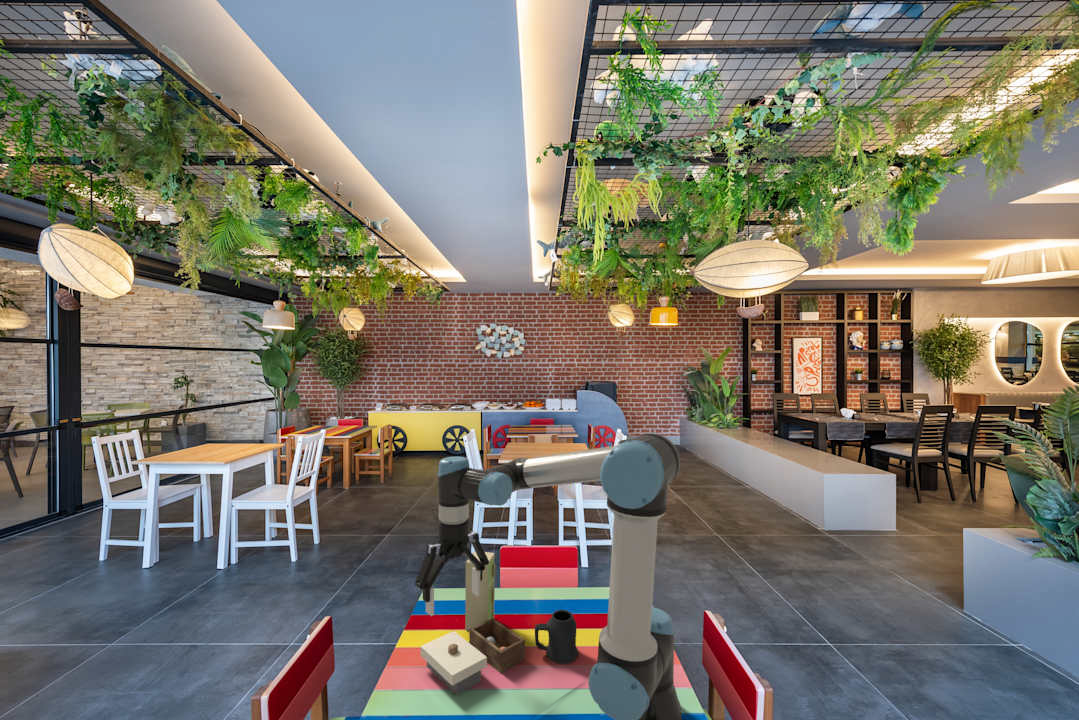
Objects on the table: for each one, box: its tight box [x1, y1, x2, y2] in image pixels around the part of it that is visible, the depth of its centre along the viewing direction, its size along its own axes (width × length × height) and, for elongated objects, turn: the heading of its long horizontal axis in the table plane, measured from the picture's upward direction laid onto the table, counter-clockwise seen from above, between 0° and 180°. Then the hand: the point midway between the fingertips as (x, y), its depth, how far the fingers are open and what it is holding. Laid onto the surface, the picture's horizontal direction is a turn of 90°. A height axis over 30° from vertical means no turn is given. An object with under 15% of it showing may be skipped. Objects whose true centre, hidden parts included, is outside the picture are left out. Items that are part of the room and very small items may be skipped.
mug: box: [534, 609, 579, 665], centre depth 128 cm, size 12×9×11 cm
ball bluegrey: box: [486, 637, 495, 645], centre depth 130 cm, size 3×3×3 cm
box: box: [468, 618, 526, 674], centre depth 128 cm, size 14×8×6 cm, turn 43°
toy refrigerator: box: [464, 551, 496, 632], centre depth 141 cm, size 8×7×21 cm
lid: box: [420, 630, 488, 686], centre depth 120 cm, size 15×10×4 cm, turn 43°
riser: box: [426, 661, 482, 696], centre depth 120 cm, size 14×7×4 cm, turn 43°
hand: (453, 603), depth 119 cm, fingers open, 13 cm apart
